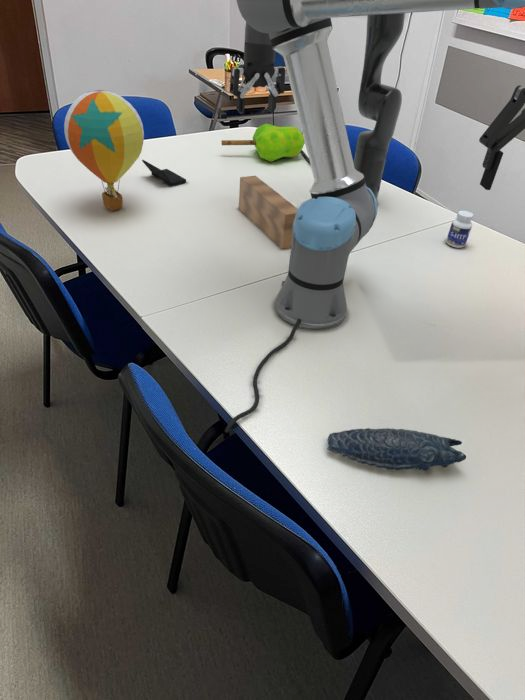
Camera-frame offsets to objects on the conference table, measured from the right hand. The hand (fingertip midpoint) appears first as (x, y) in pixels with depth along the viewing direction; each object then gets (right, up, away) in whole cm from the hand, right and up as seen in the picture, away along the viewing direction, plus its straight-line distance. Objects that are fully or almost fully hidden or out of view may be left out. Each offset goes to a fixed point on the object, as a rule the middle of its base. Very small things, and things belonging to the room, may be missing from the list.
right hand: (256, 112), depth 133 cm
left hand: (+48, -32, -40) cm, 70 cm away
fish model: (+22, -78, -51) cm, 96 cm away
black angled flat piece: (-29, -7, +31) cm, 43 cm away
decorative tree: (+2, +9, +55) cm, 55 cm away
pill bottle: (+55, -32, +10) cm, 64 cm away
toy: (-40, -22, +12) cm, 47 cm away
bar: (+3, -27, +10) cm, 29 cm away
